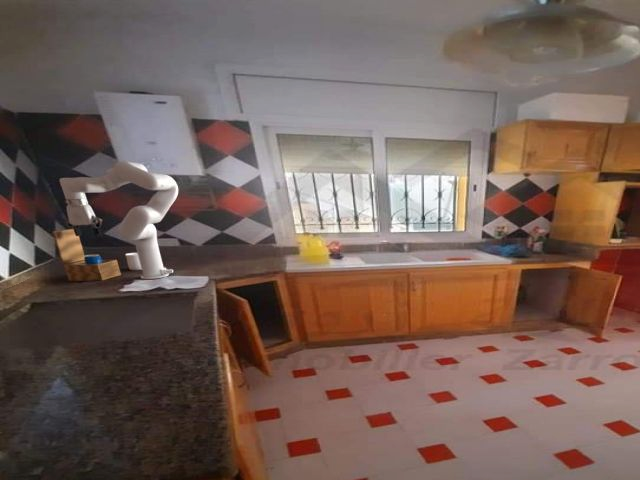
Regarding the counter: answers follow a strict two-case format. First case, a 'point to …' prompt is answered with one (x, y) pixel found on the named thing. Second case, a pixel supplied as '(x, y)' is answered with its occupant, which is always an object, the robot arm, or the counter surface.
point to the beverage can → (92, 259)
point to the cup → (133, 261)
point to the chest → (92, 270)
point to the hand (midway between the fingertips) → (89, 235)
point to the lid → (68, 246)
